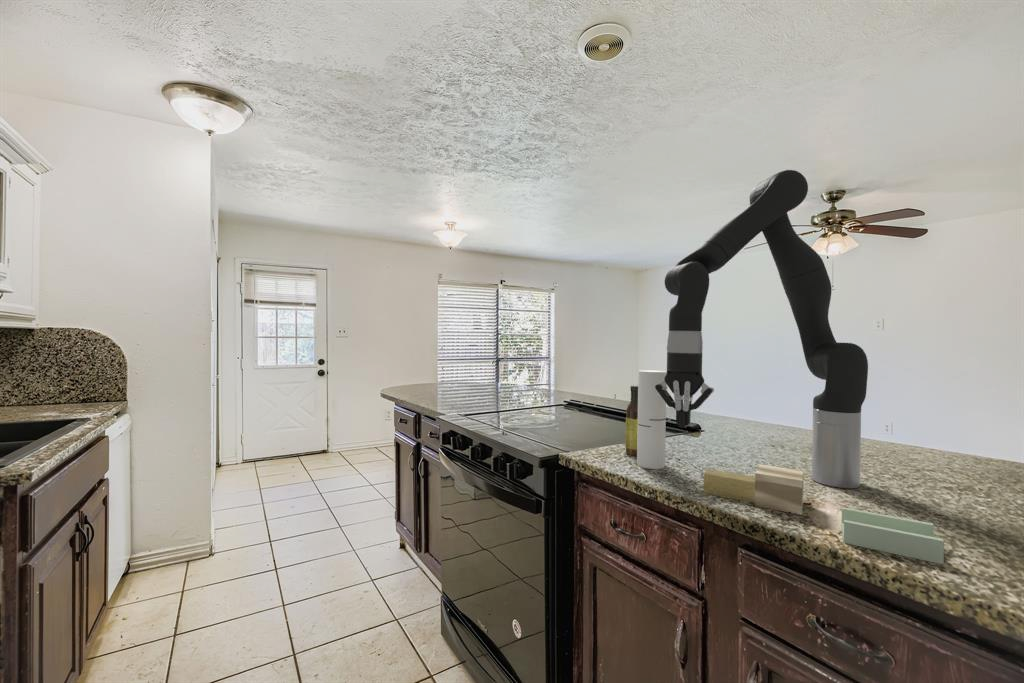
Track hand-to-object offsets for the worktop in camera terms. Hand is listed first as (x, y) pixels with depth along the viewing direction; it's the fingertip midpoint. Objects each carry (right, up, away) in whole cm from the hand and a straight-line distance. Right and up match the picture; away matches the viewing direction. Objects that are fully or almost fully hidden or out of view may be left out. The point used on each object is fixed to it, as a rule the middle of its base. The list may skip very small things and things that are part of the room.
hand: (682, 426), depth 101 cm
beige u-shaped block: (+16, -14, -11) cm, 23 cm away
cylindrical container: (-2, -14, +17) cm, 22 cm away
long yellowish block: (+11, -12, -8) cm, 18 cm away
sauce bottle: (-3, -14, +28) cm, 31 cm away
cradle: (+23, -14, -28) cm, 39 cm away
